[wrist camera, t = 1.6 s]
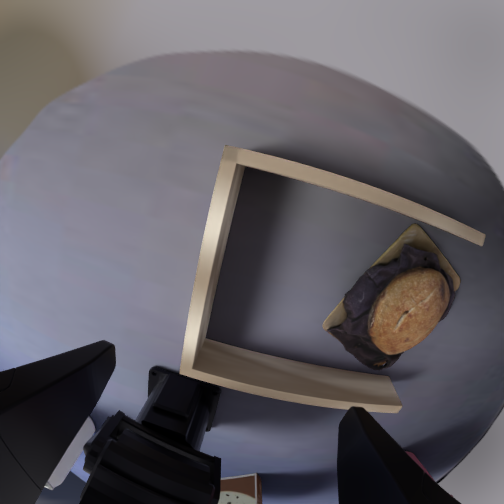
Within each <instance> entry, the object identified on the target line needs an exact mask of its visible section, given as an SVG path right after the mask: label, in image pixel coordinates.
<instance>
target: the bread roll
mask: <svg viewBox="0 0 504 504" xmlns="http://www.w3.org/2000/svg"><path fill="white" fill-rule="evenodd" d="M460 282H461V281H460V278H459V276H458V275H457V273H456V272H455V271H454V269H453V268H452V266H451V265H450V263H449V262H448V261H447V259H446V258H445V257H444V255H443V254H442V253H441V252H440V250H439V249H438V248H437V246H436V245H435V244H434V243H433V241H432V240H431V239H430V238H429V236H428V235H427V234H426V233H425V232H424V231H423V229H422V228H421V227H420V226H419V225H418V224H412V225H411V226H410V227H409V228H408V229H407V230H406V231H404V233H402V234H401V235H400V237H399V238H398V239H397V240H396V241H395V242H394V243H393V244H392V245H391V246H390V247H389V248H388V249H387V250H386V251H385V252H384V253H383V254H382V255H381V256H380V257H379V259H378V260H377V261H376V262H375V263H374V264H373V265H372V266H371V267H370V268H369V269H368V270H366V272H365V273H364V275H362V276H361V277H360V278H359V280H358V281H357V282H356V284H355V285H354V286H353V288H352V289H351V290H350V291H348V292H347V293H346V294H345V297H344V298H343V299H342V300H341V302H340V303H339V304H338V305H337V306H336V308H335V309H334V310H333V311H332V312H331V314H330V315H329V316H328V317H327V319H326V320H325V321H324V324H323V328H324V329H325V330H326V331H327V332H328V333H330V334H331V335H332V336H333V337H335V338H336V339H338V340H339V341H340V342H341V343H342V344H343V345H344V347H345V349H346V351H348V352H349V353H351V354H353V355H354V356H355V358H357V359H358V360H359V361H360V362H361V363H362V364H364V365H366V366H367V367H369V368H371V369H374V370H382V369H383V368H388V367H390V366H391V365H393V364H394V363H395V362H396V361H397V360H398V359H399V357H400V356H401V354H402V353H403V352H404V351H406V350H409V349H411V348H412V347H414V346H415V345H417V344H418V343H420V342H421V341H422V340H424V339H425V338H426V337H427V336H428V335H429V334H430V333H431V332H432V331H433V329H434V328H435V326H436V325H437V323H438V322H440V321H441V320H443V319H444V318H445V317H446V316H447V314H448V312H449V310H450V307H451V305H452V302H453V300H454V298H455V291H456V290H457V289H458V288H459V285H460ZM386 362H387V363H386ZM384 363H385V365H384V366H383V364H384ZM382 366H383V367H382Z"/></svg>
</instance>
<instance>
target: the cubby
mask: <svg viewBox="0 0 504 504" xmlns="http://www.w3.org/2000/svg"><path fill="white" fill-rule="evenodd" d="M245 167H249V168H253V169H257V170H261V171H265V172H269V173H273V174H277V175H281V176H285V177H288V178H292V179H295V180H299V181H303V182H306V183H310V184H313V185H316V186H320V187H323V188H326V189H330V190H333V191H336V192H339V193H342V194H346V195H349V196H352V197H355V198H358V199H361V200H364V201H367V202H370V203H373V204H375V205H378V206H381V207H384V208H387V209H390V210H392V211H395V212H398V213H400V214H403V215H406V216H408V217H411V218H414V219H416V220H419V221H421V222H424V223H426V224H429V225H431V226H434V227H436V228H439V229H441V230H443V231H446V232H448V233H451V234H453V235H455V236H458V237H460V238H463V239H465V240H468V241H470V242H472V243H475V244H477V245H479V246H483V243H484V239H485V236H486V235H485V234H483V233H481V232H479V231H477V230H475V229H473V228H471V227H469V226H467V225H465V224H462V223H460V222H458V221H456V220H454V219H452V218H450V217H447V216H445V215H443V214H441V213H438V212H436V211H434V210H431V209H429V208H427V207H424V206H422V205H420V204H417V203H415V202H412V201H410V200H407V199H405V198H402V197H400V196H397V195H394V194H392V193H389V192H386V191H384V190H381V189H378V188H376V187H373V186H370V185H367V184H364V183H361V182H358V181H356V180H353V179H350V178H347V177H343V176H340V175H337V174H334V173H331V172H328V171H324V170H321V169H318V168H314V167H311V166H308V165H304V164H301V163H297V162H293V161H290V160H286V159H282V158H279V157H275V156H271V155H267V154H263V153H259V152H254V151H250V150H246V149H241V148H237V147H232V146H228V145H225V147H224V151H223V155H222V159H221V163H220V167H219V171H218V175H217V179H216V183H215V188H214V192H213V196H212V201H211V205H210V210H209V214H208V219H207V223H206V228H205V232H204V237H203V242H202V247H201V252H200V257H199V262H198V267H197V272H196V277H195V282H194V288H193V293H192V299H191V304H190V310H189V316H188V321H187V327H186V334H185V340H184V346H183V352H182V359H181V366H180V373H179V374H182V375H185V376H188V377H191V378H195V379H198V380H201V381H205V382H208V383H212V384H215V385H219V386H223V387H226V388H230V389H234V390H238V391H242V392H246V393H251V394H255V395H260V396H264V397H269V398H274V399H279V400H284V401H290V402H295V403H301V404H308V405H314V406H321V407H329V408H337V409H346V410H349V408H350V407H352V406H358V407H363V408H364V409H365V410H366V411H368V412H384V413H398V412H399V410H400V409H401V408H402V404H401V401H400V399H399V397H398V395H397V393H396V390H395V388H394V386H393V384H392V382H391V380H390V378H389V376H383V375H375V374H368V373H361V372H354V371H348V370H342V369H336V368H330V367H324V366H319V365H314V364H308V363H303V362H299V361H294V360H289V359H284V358H280V357H275V356H271V355H267V354H263V353H259V352H254V351H250V350H247V349H243V348H239V347H235V346H231V345H228V344H224V343H220V342H217V341H213V340H210V339H206V334H207V329H208V324H209V320H210V315H211V310H212V306H213V301H214V296H215V292H216V287H217V283H218V278H219V274H220V270H221V265H222V261H223V256H224V252H225V248H226V243H227V239H228V235H229V231H230V226H231V222H232V218H233V214H234V210H235V206H236V202H237V197H238V193H239V189H240V185H241V181H242V177H243V173H244V169H245Z"/></svg>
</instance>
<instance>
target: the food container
mask: <svg viewBox="0 0 504 504" xmlns="http://www.w3.org/2000/svg"><path fill="white" fill-rule="evenodd" d="M218 504H262V484H261V478H260V476H259V475H258V474H257V473H254V474H247V475H241V476H233V477H225V478H221V491H220V498H219V502H218Z"/></svg>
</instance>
